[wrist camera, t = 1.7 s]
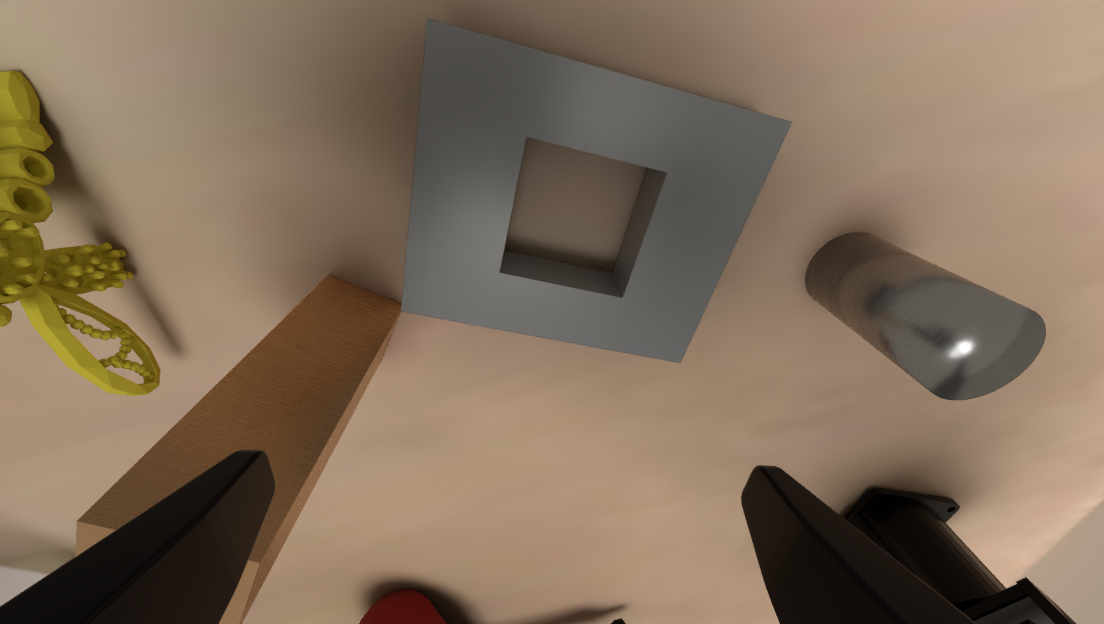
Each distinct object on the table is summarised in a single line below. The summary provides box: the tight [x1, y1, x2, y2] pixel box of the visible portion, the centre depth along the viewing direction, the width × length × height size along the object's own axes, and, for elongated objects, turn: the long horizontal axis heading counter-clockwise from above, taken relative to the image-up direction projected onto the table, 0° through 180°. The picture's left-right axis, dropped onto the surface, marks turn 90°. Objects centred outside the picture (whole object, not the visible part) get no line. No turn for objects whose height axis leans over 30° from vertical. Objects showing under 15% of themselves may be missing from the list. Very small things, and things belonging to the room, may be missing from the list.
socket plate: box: [401, 18, 792, 363], centre depth 17 cm, size 12×10×2 cm
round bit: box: [805, 233, 1046, 400], centre depth 17 cm, size 4×4×7 cm
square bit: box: [76, 275, 402, 624], centre depth 15 cm, size 3×3×12 cm
